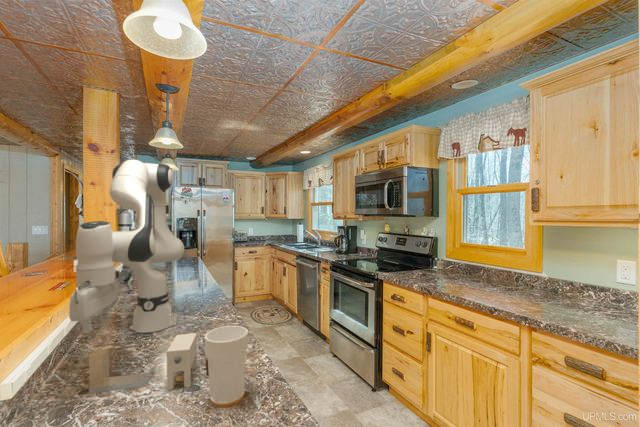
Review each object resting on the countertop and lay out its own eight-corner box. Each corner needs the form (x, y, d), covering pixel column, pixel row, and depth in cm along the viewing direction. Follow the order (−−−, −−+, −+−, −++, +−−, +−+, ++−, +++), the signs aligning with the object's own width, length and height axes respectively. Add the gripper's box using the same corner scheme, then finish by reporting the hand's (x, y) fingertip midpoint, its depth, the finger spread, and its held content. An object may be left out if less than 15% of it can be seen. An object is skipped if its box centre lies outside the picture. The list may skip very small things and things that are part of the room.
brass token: (177, 375, 94) (177, 373, 94) (192, 374, 95) (192, 371, 95) (173, 383, 90) (173, 381, 90) (189, 381, 91) (189, 379, 91)
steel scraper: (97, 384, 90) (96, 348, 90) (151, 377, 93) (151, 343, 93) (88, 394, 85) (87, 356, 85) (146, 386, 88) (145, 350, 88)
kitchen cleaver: (233, 369, 97) (199, 374, 93) (233, 372, 97) (199, 377, 93) (226, 340, 119) (198, 343, 115) (225, 342, 119) (198, 346, 115)
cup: (253, 384, 89) (252, 325, 88) (242, 410, 77) (241, 342, 77) (215, 384, 89) (214, 325, 89) (198, 409, 78) (197, 342, 77)
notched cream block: (177, 368, 98) (176, 334, 98) (197, 366, 99) (196, 333, 99) (166, 392, 85) (165, 353, 85) (189, 389, 87) (188, 350, 87)
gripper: (89, 285, 78) (90, 339, 78) (122, 270, 98) (123, 313, 98) (60, 287, 77) (61, 342, 77) (100, 272, 97) (101, 315, 97)
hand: (96, 326), depth 87 cm, fingers open, 8 cm apart
